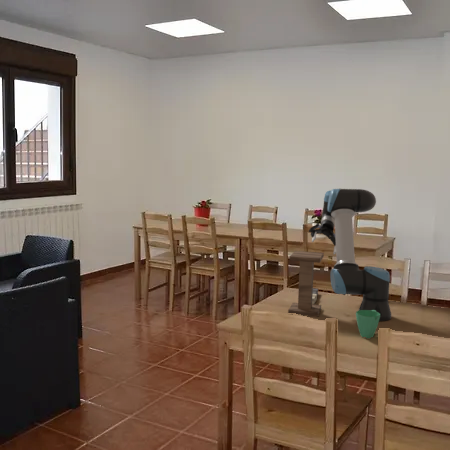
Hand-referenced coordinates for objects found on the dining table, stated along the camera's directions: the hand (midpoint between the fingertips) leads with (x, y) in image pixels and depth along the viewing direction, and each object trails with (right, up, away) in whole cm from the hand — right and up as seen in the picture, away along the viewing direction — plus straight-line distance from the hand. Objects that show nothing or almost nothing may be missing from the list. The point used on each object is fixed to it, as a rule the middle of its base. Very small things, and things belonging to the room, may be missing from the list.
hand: (324, 246), depth 295 cm
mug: (+7, -35, -62) cm, 72 cm away
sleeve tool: (-7, -27, -4) cm, 29 cm away
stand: (-15, -30, -29) cm, 44 cm away
